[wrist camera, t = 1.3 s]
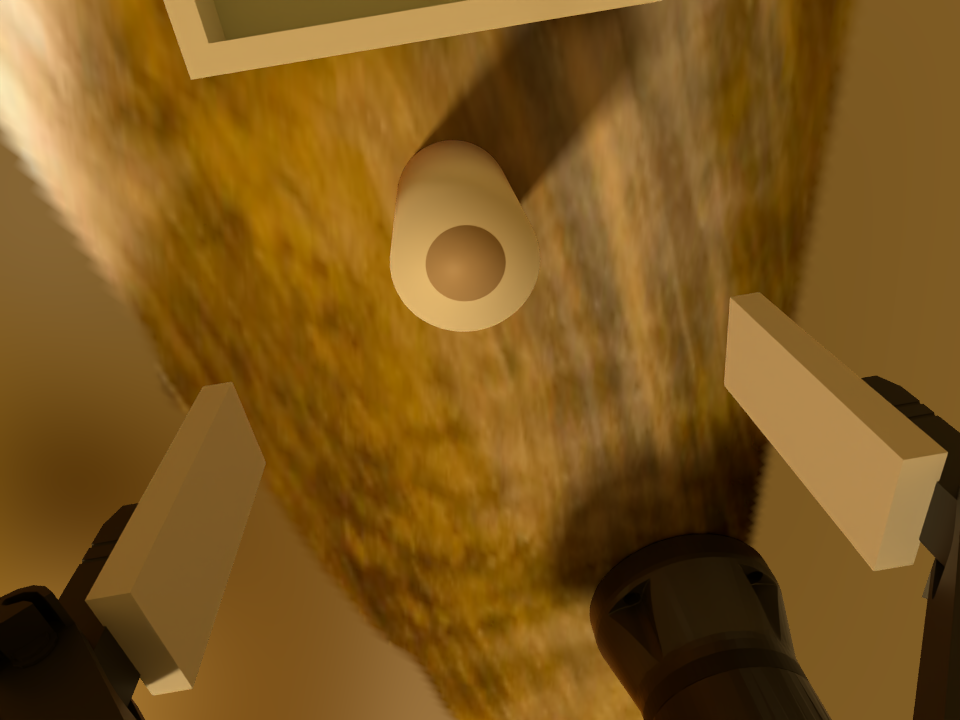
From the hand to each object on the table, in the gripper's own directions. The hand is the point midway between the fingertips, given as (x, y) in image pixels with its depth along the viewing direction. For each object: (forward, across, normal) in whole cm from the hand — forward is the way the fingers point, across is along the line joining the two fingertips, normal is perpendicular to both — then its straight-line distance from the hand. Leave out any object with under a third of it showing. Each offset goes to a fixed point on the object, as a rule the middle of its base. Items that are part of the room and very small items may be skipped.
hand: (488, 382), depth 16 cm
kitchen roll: (+19, 0, 0) cm, 19 cm away
